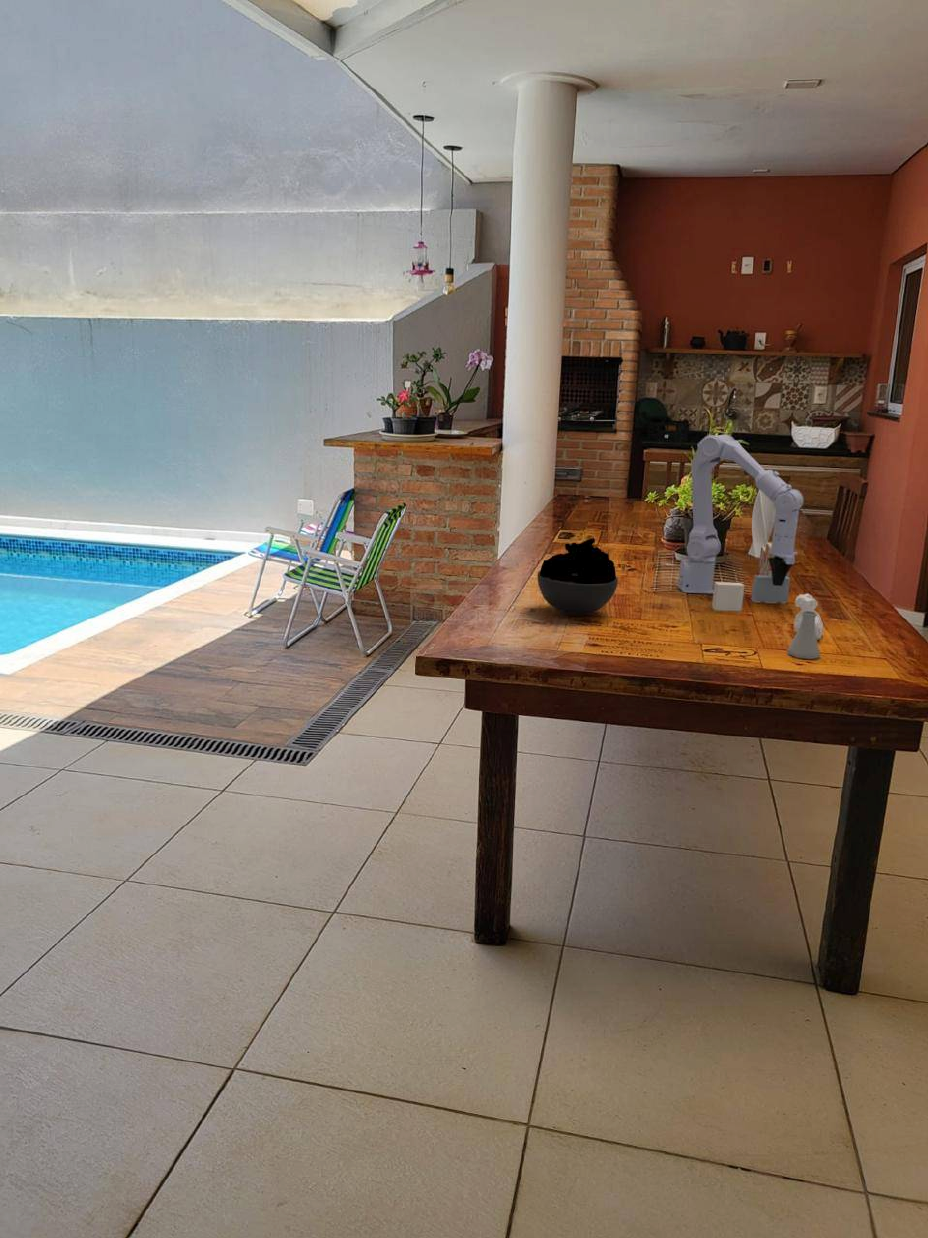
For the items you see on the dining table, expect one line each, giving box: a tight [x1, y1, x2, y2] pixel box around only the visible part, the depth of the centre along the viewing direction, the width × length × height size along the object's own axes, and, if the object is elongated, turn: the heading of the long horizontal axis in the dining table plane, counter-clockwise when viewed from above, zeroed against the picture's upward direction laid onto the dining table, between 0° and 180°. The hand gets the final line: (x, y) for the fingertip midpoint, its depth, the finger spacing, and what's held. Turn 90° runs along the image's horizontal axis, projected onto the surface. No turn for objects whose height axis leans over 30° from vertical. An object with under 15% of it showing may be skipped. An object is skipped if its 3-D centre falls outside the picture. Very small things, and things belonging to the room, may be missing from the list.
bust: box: [793, 593, 825, 640], centre depth 225 cm, size 12×8×11 cm
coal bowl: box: [537, 537, 619, 617], centre depth 233 cm, size 20×20×19 cm
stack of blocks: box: [757, 541, 792, 578], centre depth 282 cm, size 21×6×12 cm, turn 169°
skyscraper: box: [747, 489, 776, 560], centre depth 322 cm, size 8×8×28 cm
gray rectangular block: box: [750, 574, 791, 604], centre depth 258 cm, size 9×3×7 cm, turn 91°
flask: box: [786, 611, 821, 660], centre depth 209 cm, size 7×7×10 cm
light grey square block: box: [711, 581, 745, 612], centre depth 248 cm, size 7×3×7 cm, turn 91°
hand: (777, 585), depth 253 cm, fingers closed
